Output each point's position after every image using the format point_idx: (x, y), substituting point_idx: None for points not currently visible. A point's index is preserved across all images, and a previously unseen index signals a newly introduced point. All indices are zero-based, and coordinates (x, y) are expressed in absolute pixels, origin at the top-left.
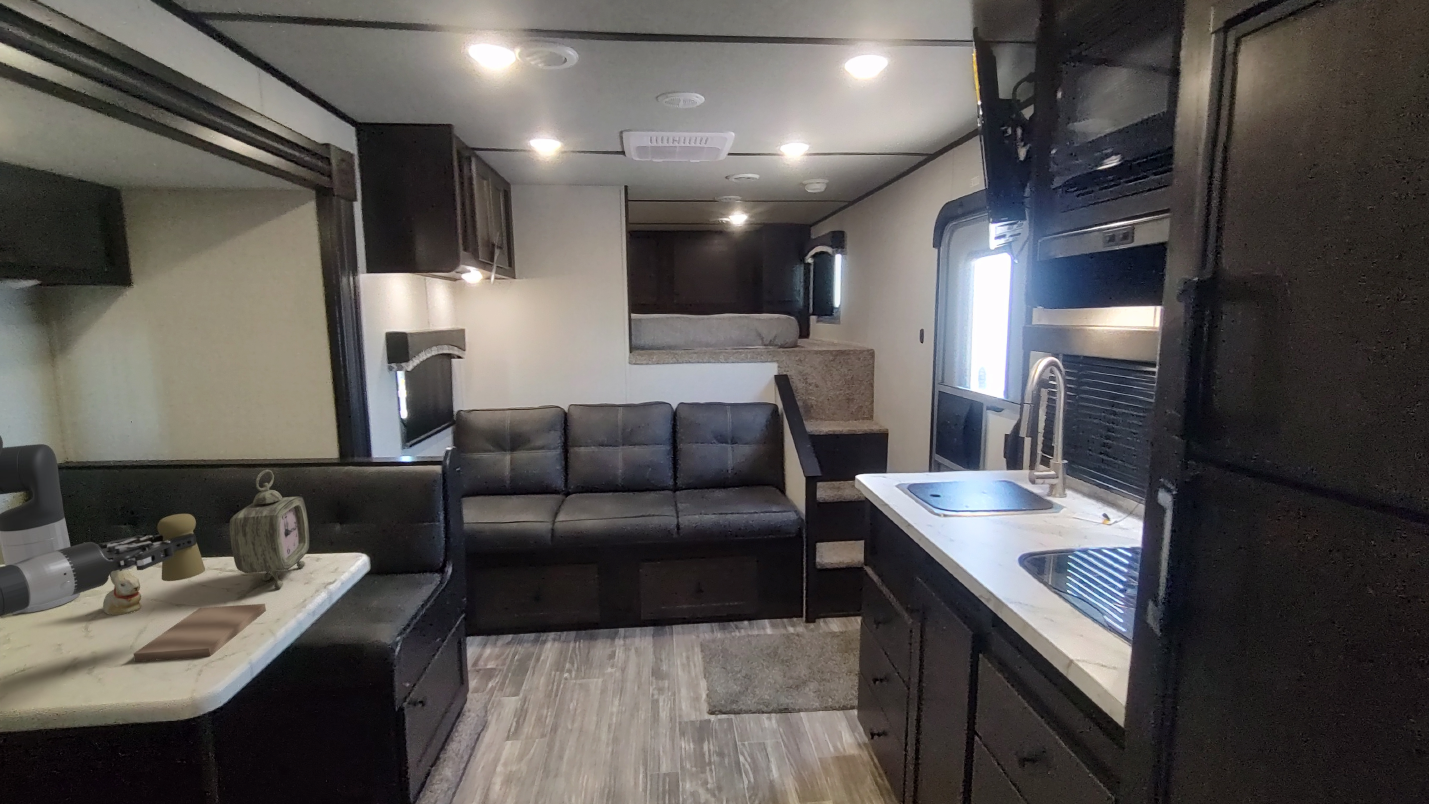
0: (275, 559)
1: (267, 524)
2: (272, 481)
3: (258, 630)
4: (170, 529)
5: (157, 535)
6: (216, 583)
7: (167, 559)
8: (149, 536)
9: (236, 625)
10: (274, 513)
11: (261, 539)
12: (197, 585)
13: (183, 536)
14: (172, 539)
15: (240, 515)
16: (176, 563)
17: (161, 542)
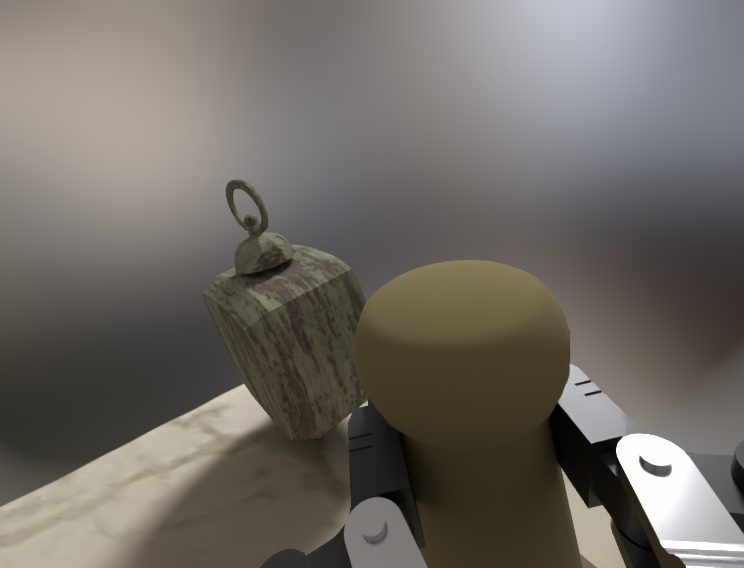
0: None
1: (346, 299)
2: (241, 217)
3: (603, 529)
4: (564, 368)
5: (390, 472)
6: (204, 501)
7: (537, 560)
8: (379, 516)
9: (583, 561)
10: (343, 268)
11: (344, 341)
12: (162, 534)
13: (568, 378)
14: (606, 425)
15: (268, 304)
16: (570, 541)
17: (690, 491)
